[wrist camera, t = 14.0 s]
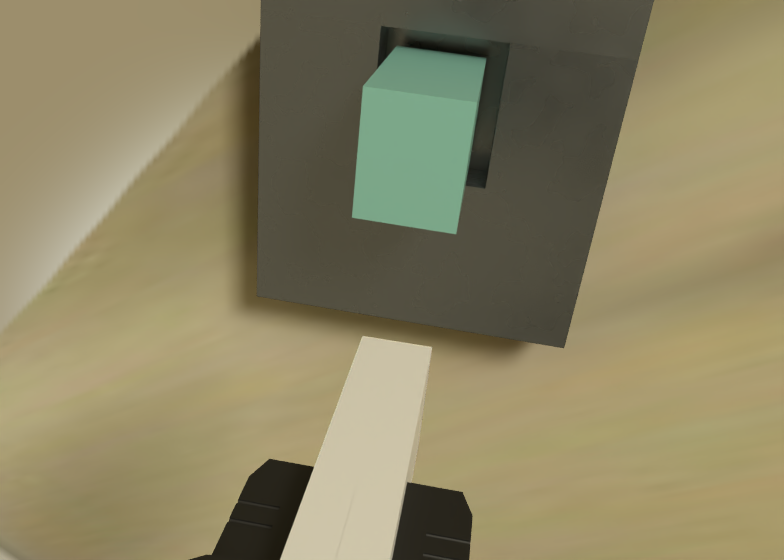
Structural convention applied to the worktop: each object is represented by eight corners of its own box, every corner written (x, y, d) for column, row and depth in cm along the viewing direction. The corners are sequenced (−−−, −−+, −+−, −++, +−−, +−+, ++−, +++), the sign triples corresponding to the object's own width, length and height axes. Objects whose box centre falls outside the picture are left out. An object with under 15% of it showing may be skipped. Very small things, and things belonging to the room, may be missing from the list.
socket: (560, 313, 40) (564, 356, 36) (276, 266, 41) (251, 303, 37) (676, -154, 29) (700, -162, 25) (289, -196, 30) (257, -209, 27)
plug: (470, 157, 35) (455, 234, 27) (389, 145, 36) (352, 217, 28) (487, 52, 33) (477, 102, 25) (400, 40, 33) (362, 86, 25)
